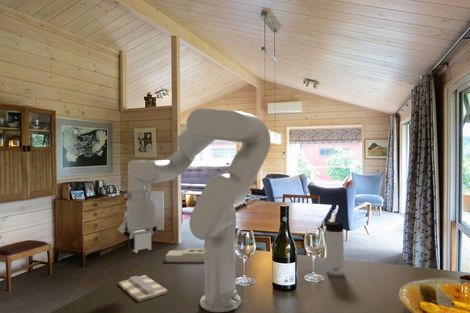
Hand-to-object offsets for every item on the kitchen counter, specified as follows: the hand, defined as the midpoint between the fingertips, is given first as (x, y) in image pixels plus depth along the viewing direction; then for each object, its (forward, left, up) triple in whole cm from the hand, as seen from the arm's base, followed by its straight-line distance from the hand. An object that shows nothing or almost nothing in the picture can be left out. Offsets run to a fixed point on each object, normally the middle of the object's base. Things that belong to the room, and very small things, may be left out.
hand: (140, 247), depth 114 cm
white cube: (0, 0, -1) cm, 1 cm away
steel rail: (0, 0, -15) cm, 15 cm away
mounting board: (0, 0, -15) cm, 15 cm away
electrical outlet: (+16, -29, -15) cm, 36 cm away
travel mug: (-37, -61, -15) cm, 73 cm away
